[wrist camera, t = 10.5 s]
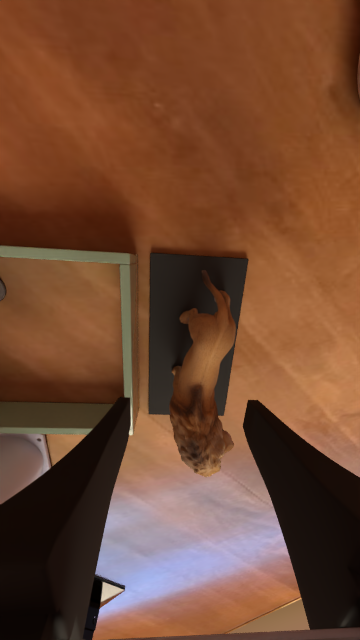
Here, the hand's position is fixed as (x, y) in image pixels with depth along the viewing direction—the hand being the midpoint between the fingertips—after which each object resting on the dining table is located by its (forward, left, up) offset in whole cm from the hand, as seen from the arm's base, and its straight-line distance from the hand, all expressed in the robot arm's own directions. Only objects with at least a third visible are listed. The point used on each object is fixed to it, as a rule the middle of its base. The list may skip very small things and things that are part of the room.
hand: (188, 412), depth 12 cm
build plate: (-51, +14, -10) cm, 54 cm away
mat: (0, -1, -9) cm, 9 cm away
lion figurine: (0, -2, -9) cm, 9 cm away
